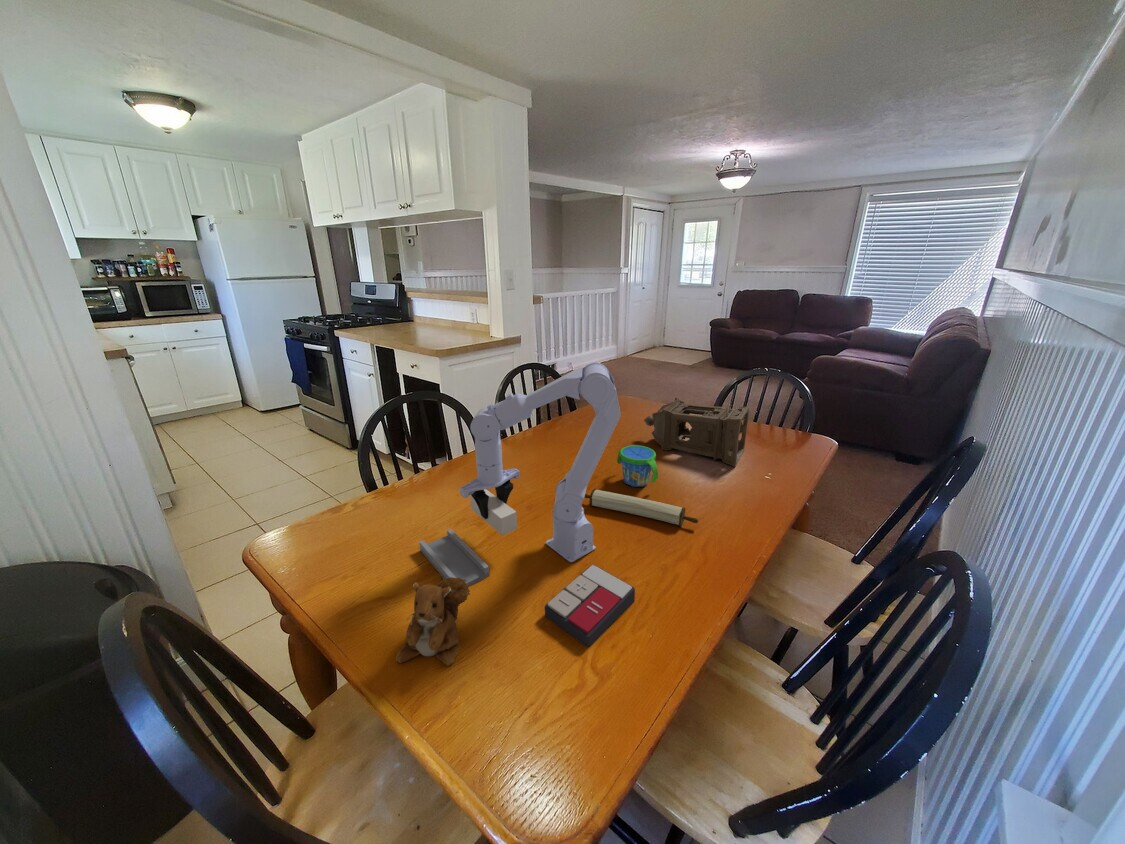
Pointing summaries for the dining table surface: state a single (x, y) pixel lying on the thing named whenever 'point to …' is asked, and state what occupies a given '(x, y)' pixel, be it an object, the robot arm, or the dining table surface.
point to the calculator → (590, 604)
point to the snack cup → (637, 465)
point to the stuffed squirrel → (435, 621)
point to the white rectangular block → (497, 514)
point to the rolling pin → (639, 507)
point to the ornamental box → (701, 429)
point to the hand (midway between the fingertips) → (493, 513)
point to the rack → (455, 558)
